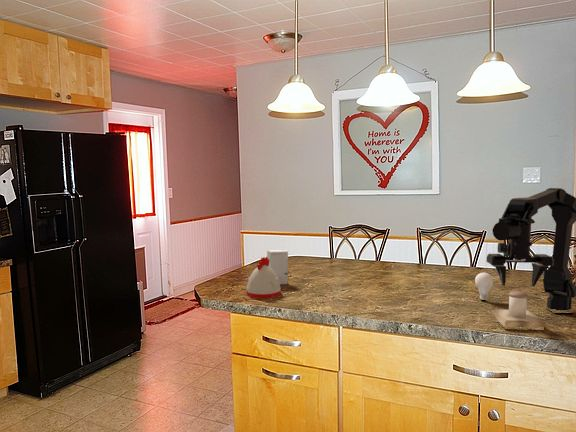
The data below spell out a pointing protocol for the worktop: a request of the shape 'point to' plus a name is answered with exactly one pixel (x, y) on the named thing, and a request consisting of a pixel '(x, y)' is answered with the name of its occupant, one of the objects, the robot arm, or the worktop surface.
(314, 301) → the worktop surface
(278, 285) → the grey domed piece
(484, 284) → the lightbulb
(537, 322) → the block
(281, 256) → the skincare box
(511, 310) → the spice tin
